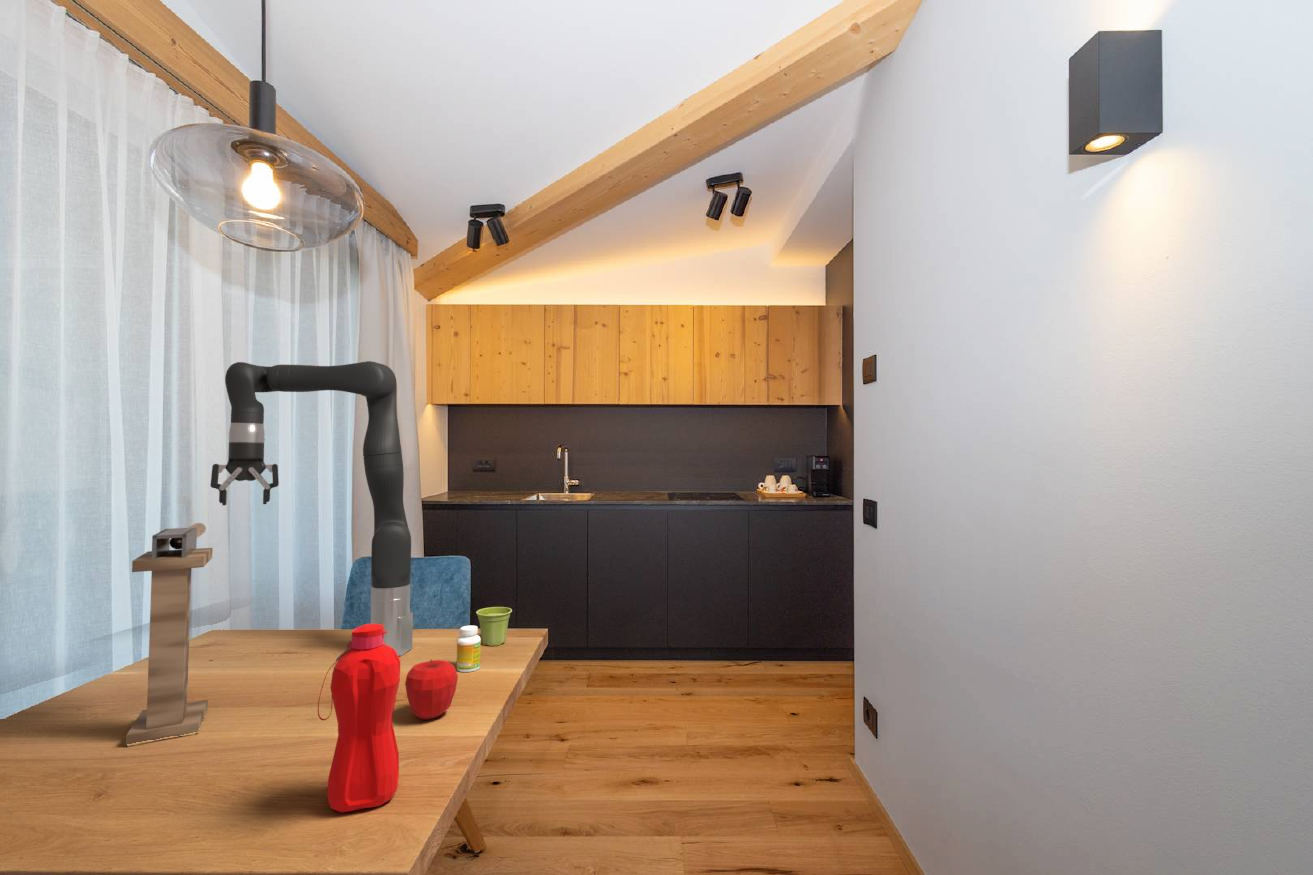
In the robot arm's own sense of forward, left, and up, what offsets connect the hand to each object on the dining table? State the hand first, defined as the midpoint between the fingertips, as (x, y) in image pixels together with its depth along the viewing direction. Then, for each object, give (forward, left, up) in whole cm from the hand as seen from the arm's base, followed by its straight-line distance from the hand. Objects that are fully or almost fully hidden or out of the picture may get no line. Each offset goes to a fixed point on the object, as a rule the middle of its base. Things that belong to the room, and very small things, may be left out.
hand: (245, 504), depth 152 cm
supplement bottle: (-61, +4, -38) cm, 72 cm away
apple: (-64, +30, -38) cm, 80 cm away
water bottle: (-66, +58, -38) cm, 96 cm away
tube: (-9, +26, -6) cm, 28 cm away
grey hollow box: (-18, +39, -6) cm, 43 cm away
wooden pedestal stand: (-18, +39, -38) cm, 57 cm away
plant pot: (-60, -16, -38) cm, 73 cm away
